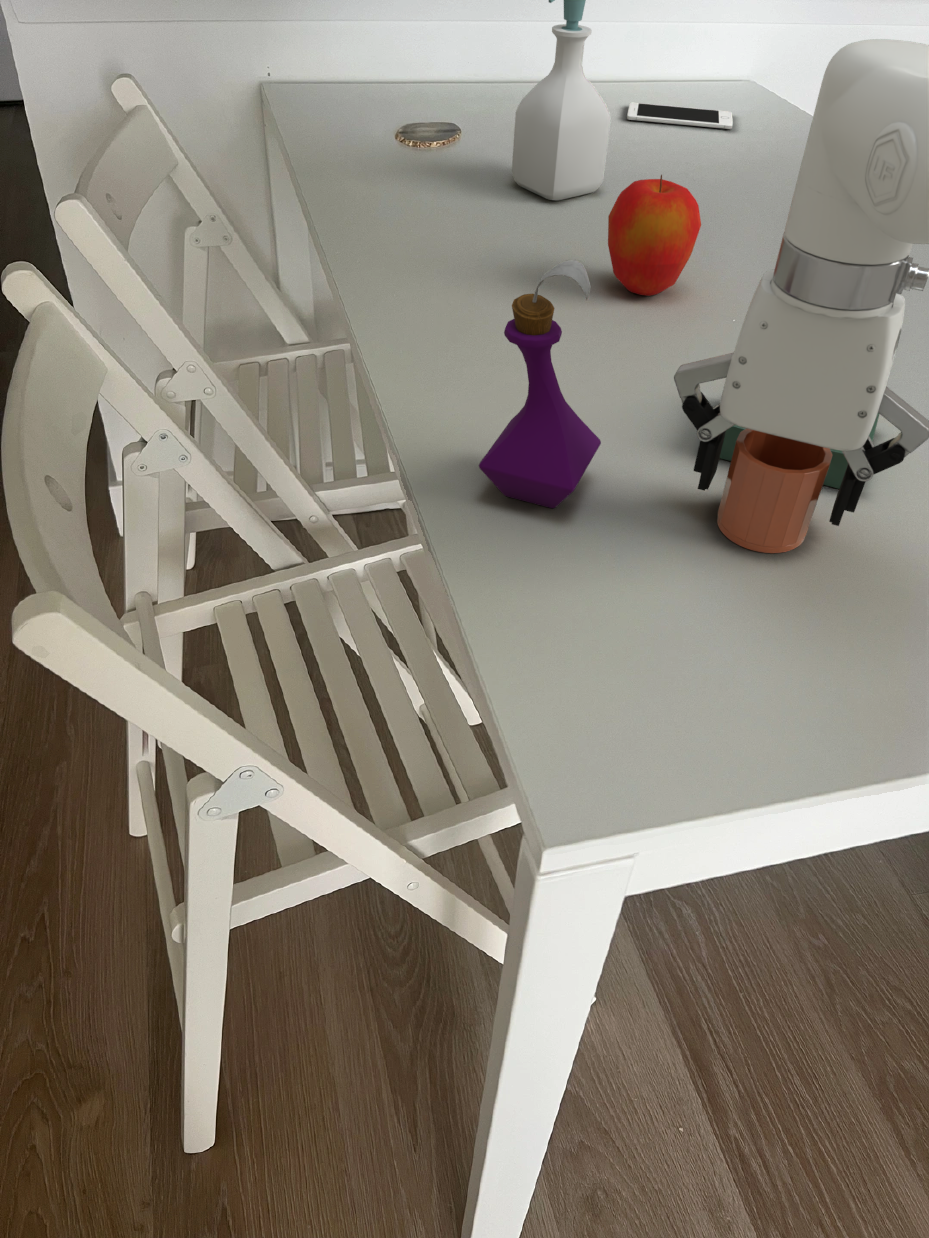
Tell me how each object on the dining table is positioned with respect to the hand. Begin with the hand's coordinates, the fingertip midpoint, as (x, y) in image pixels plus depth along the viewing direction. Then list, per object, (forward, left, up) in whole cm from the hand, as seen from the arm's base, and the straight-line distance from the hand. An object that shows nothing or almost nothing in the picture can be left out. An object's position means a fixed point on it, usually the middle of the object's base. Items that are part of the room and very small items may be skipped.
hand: (770, 497), depth 73 cm
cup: (0, 0, -3) cm, 3 cm away
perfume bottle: (+17, +3, -3) cm, 18 cm away
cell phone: (+33, -102, -3) cm, 107 cm away
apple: (+20, -37, -3) cm, 42 cm away
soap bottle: (+39, -62, -3) cm, 73 cm away
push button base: (0, -13, -3) cm, 13 cm away
